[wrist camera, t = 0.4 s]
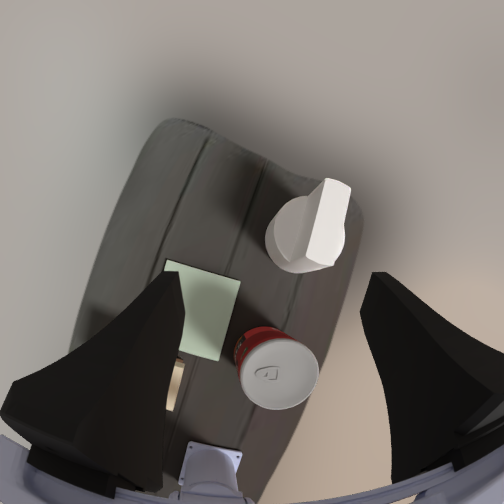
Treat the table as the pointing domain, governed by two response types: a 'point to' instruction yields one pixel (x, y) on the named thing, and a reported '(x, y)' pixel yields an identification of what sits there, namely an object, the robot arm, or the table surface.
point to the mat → (205, 309)
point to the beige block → (174, 385)
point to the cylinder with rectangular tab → (309, 229)
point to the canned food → (274, 368)
